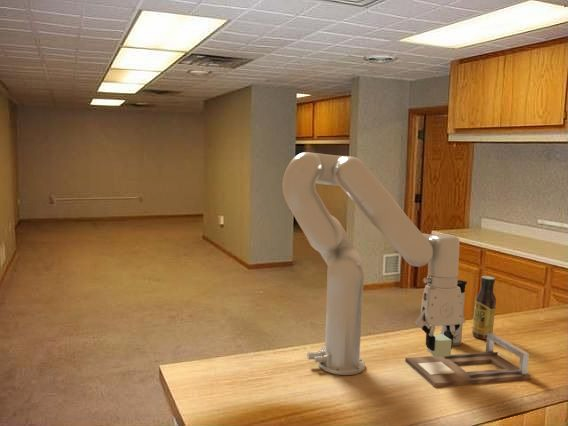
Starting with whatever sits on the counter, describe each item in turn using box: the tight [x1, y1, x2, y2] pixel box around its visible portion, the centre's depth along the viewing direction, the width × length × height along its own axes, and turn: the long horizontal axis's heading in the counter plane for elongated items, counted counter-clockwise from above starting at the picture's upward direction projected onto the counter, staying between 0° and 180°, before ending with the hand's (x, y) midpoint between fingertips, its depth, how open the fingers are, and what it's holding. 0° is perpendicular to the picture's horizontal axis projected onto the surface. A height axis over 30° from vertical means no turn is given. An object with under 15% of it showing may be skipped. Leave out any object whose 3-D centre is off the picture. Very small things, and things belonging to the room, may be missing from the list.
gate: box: [485, 332, 530, 375], centre depth 141 cm, size 2×16×6 cm, turn 13°
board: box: [404, 351, 532, 388], centre depth 139 cm, size 28×16×2 cm, turn 103°
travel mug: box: [440, 279, 468, 347], centre depth 158 cm, size 6×7×20 cm
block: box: [426, 333, 452, 357], centre depth 136 cm, size 4×4×4 cm
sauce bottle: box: [471, 275, 497, 340], centre depth 164 cm, size 7×6×20 cm
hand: (439, 347), depth 136 cm, fingers closed on block, 4 cm apart
